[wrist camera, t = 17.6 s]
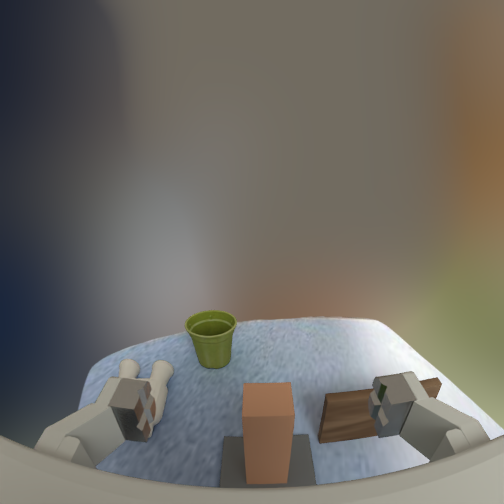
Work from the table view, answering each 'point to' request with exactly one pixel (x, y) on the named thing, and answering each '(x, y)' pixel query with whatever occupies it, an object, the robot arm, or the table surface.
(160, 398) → the binoculars
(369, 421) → the low board
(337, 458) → the table surface
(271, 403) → the marked block
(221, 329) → the plant pot
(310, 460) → the slate pad
